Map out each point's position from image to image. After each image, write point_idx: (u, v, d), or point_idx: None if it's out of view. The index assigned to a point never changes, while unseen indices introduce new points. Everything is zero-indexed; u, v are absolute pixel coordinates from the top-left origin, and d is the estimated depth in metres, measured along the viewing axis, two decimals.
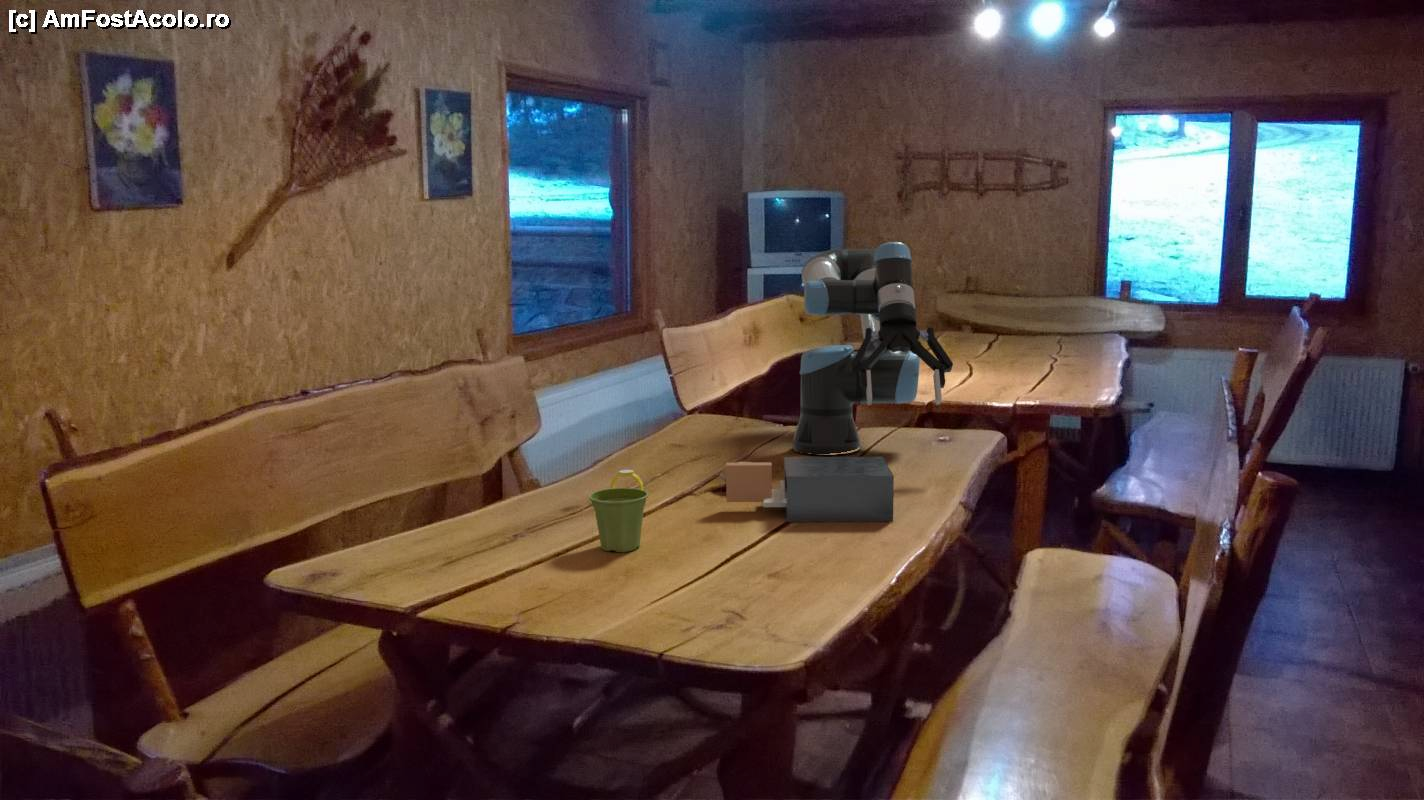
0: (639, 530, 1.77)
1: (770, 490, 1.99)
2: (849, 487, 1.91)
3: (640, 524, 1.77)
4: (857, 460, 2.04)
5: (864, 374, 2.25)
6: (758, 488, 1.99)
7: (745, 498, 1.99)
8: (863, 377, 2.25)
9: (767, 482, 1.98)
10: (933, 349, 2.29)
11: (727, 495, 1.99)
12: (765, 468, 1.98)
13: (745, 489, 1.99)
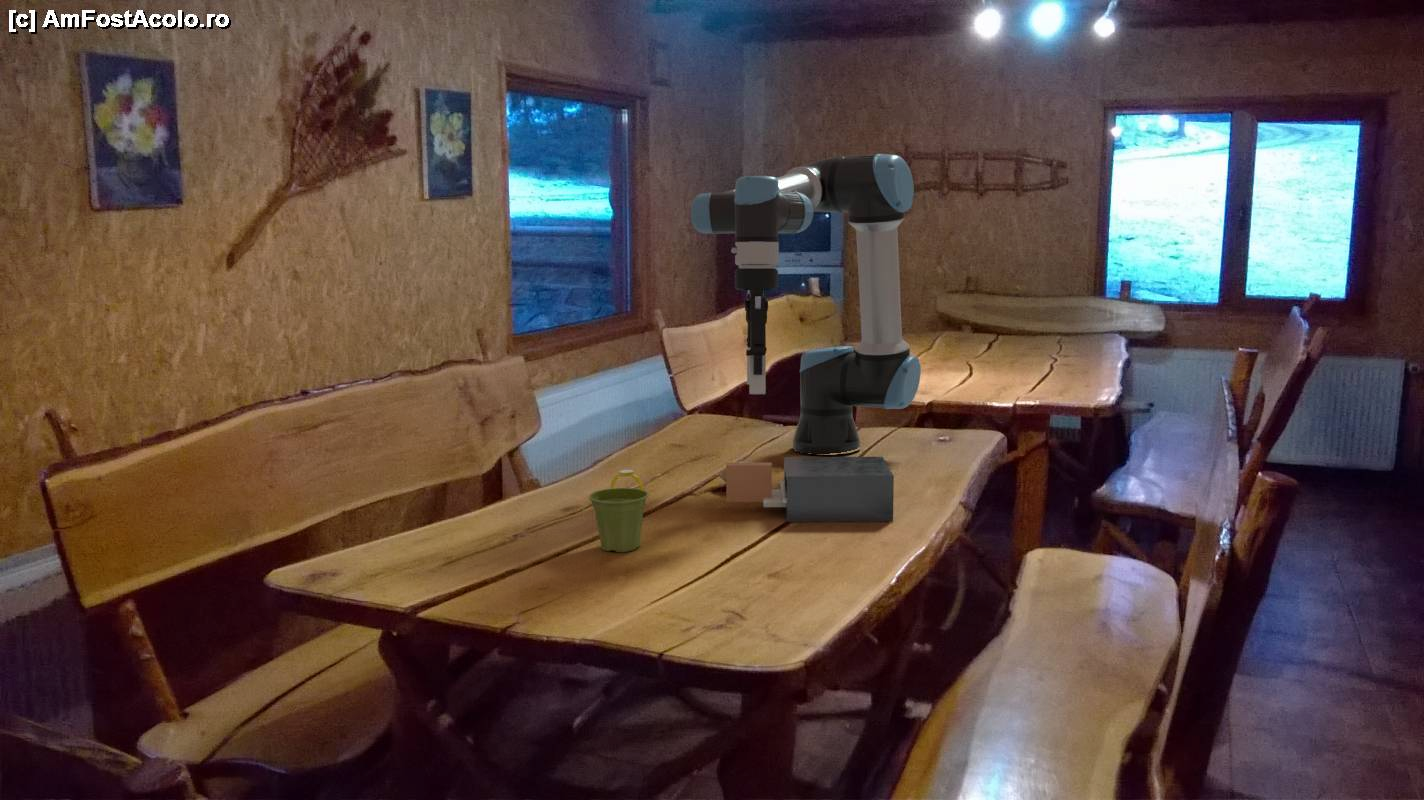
0: (639, 530, 1.77)
1: (770, 490, 1.99)
2: (849, 487, 1.91)
3: (640, 524, 1.77)
4: (857, 460, 2.04)
5: None
6: (758, 488, 1.99)
7: (745, 498, 1.99)
8: None
9: (767, 482, 1.98)
10: None
11: (727, 495, 1.99)
12: (765, 468, 1.98)
13: (745, 489, 1.99)
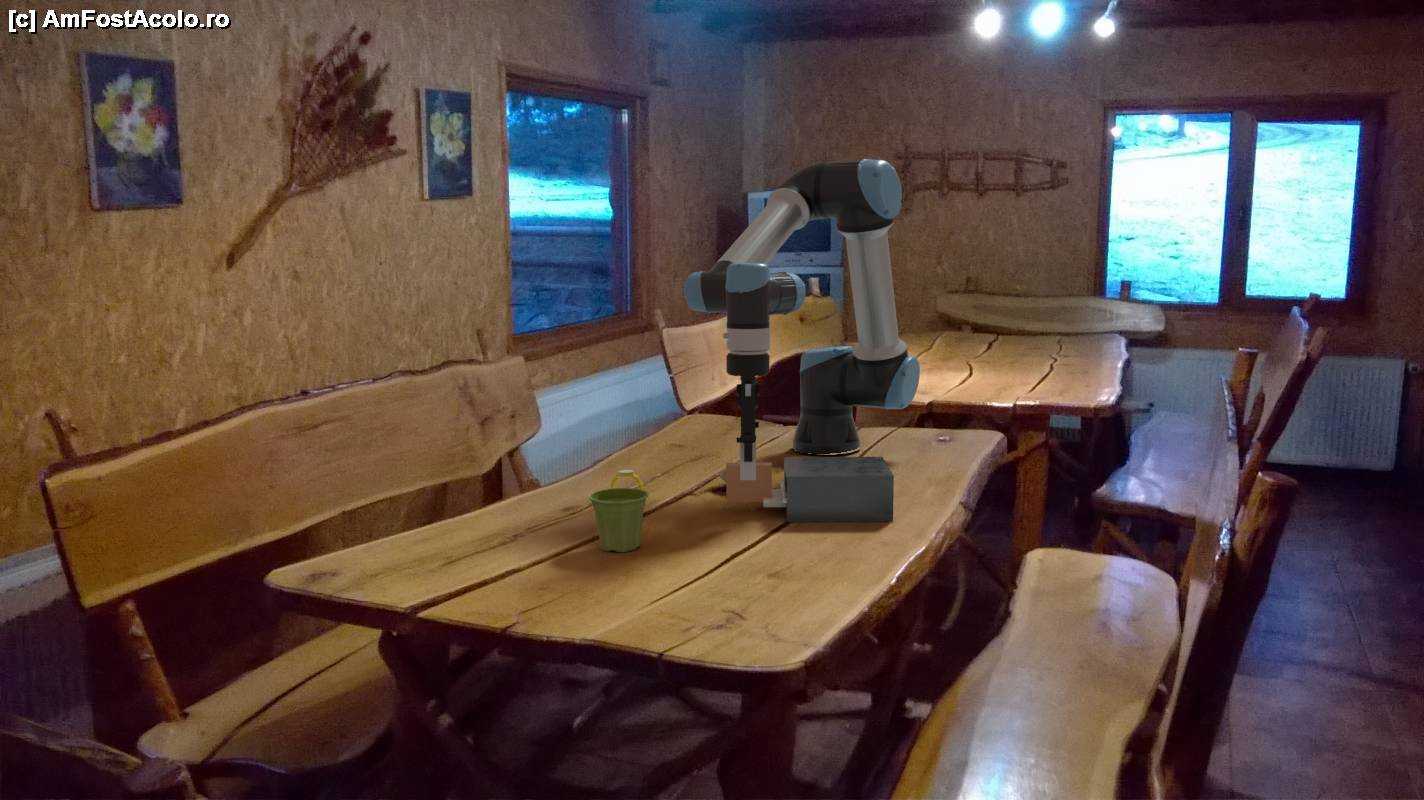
0: (639, 530, 1.77)
1: (770, 490, 1.99)
2: (849, 487, 1.91)
3: (640, 524, 1.77)
4: (857, 460, 2.04)
5: None
6: (758, 488, 1.99)
7: (745, 498, 1.99)
8: None
9: (767, 482, 1.98)
10: None
11: (727, 495, 1.99)
12: (765, 468, 1.98)
13: (745, 489, 1.99)
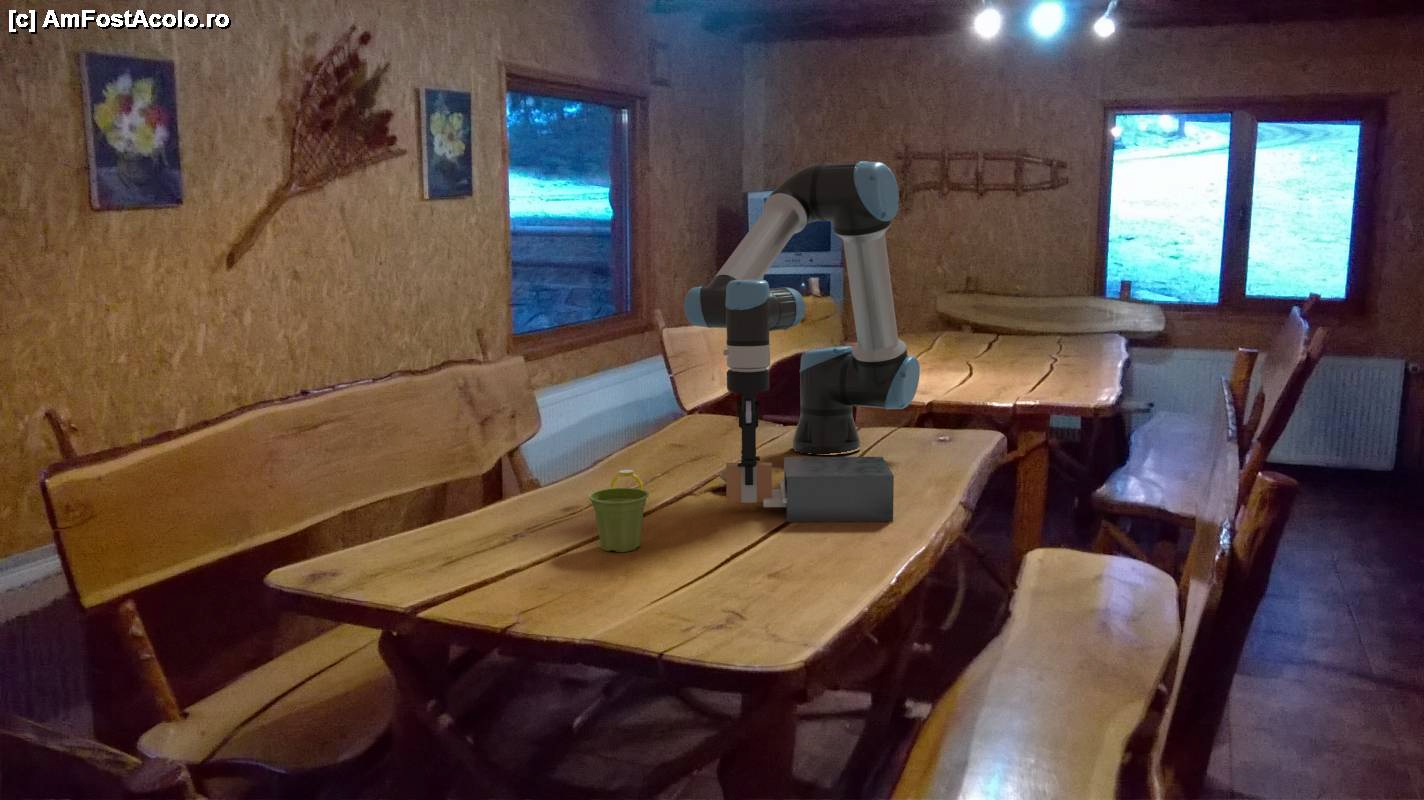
0: (639, 530, 1.77)
1: (770, 490, 1.99)
2: (849, 487, 1.91)
3: (640, 524, 1.77)
4: (857, 460, 2.04)
5: None
6: (758, 488, 1.99)
7: None
8: None
9: (767, 482, 1.98)
10: None
11: (727, 495, 1.99)
12: (765, 468, 1.98)
13: None
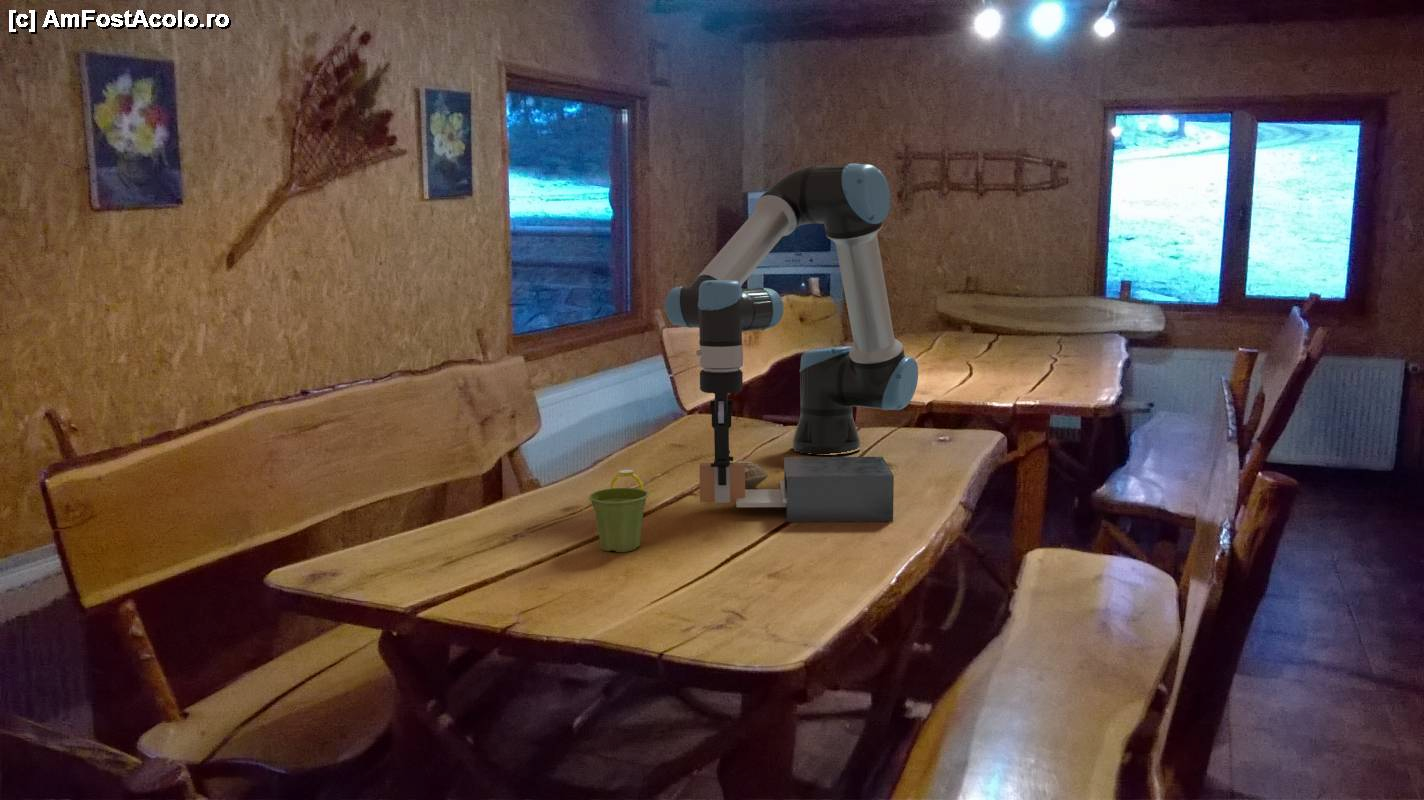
0: (639, 530, 1.77)
1: (743, 490, 1.99)
2: (849, 487, 1.91)
3: (640, 524, 1.77)
4: (857, 460, 2.04)
5: None
6: (731, 488, 1.99)
7: None
8: None
9: (740, 482, 1.99)
10: None
11: (700, 495, 1.99)
12: (738, 468, 1.98)
13: None
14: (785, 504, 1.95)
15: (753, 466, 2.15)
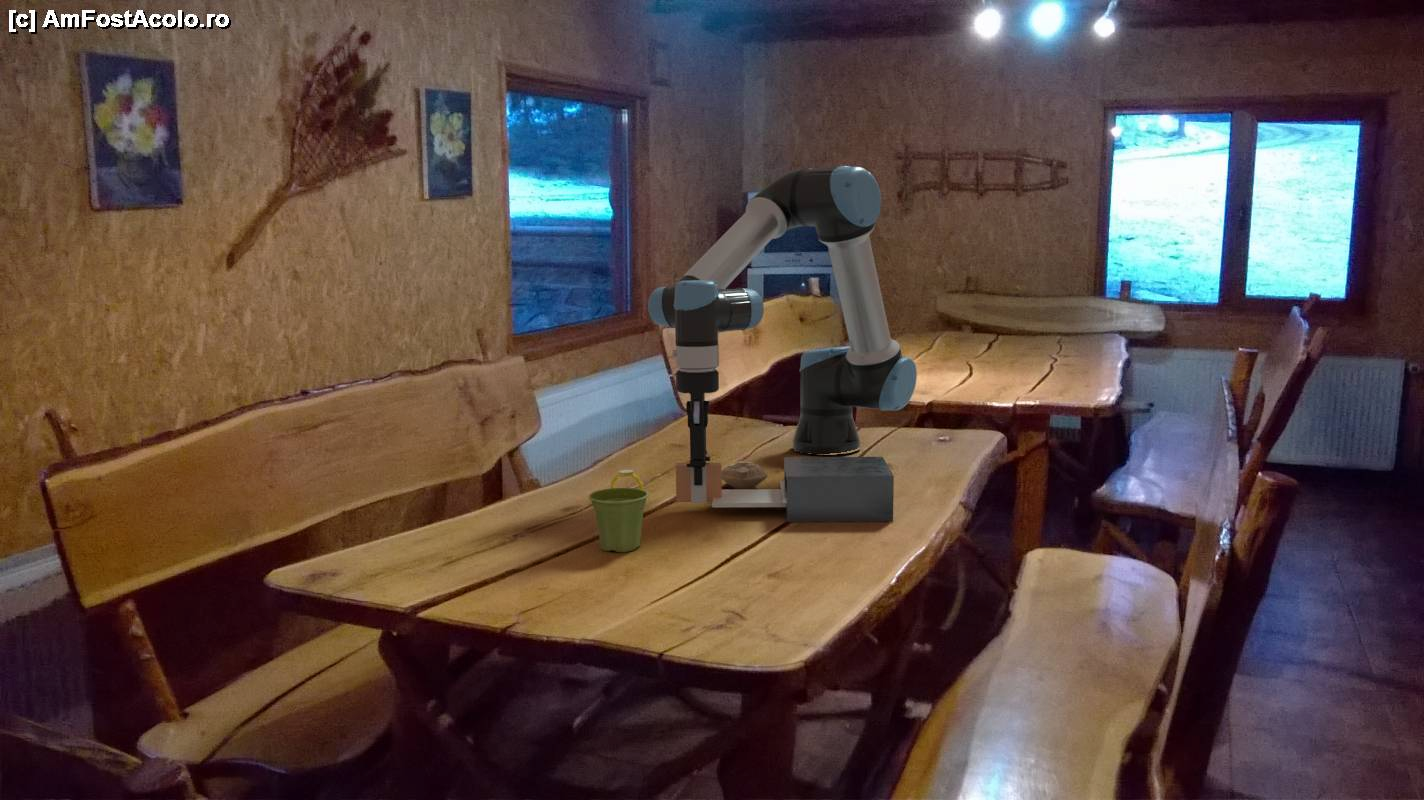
0: (639, 530, 1.77)
1: (720, 490, 1.99)
2: (849, 487, 1.91)
3: (640, 524, 1.77)
4: (857, 460, 2.04)
5: None
6: (707, 489, 1.99)
7: None
8: None
9: (717, 482, 1.99)
10: None
11: (677, 495, 1.99)
12: (715, 468, 1.98)
13: None
14: (761, 504, 1.95)
15: (753, 466, 2.15)
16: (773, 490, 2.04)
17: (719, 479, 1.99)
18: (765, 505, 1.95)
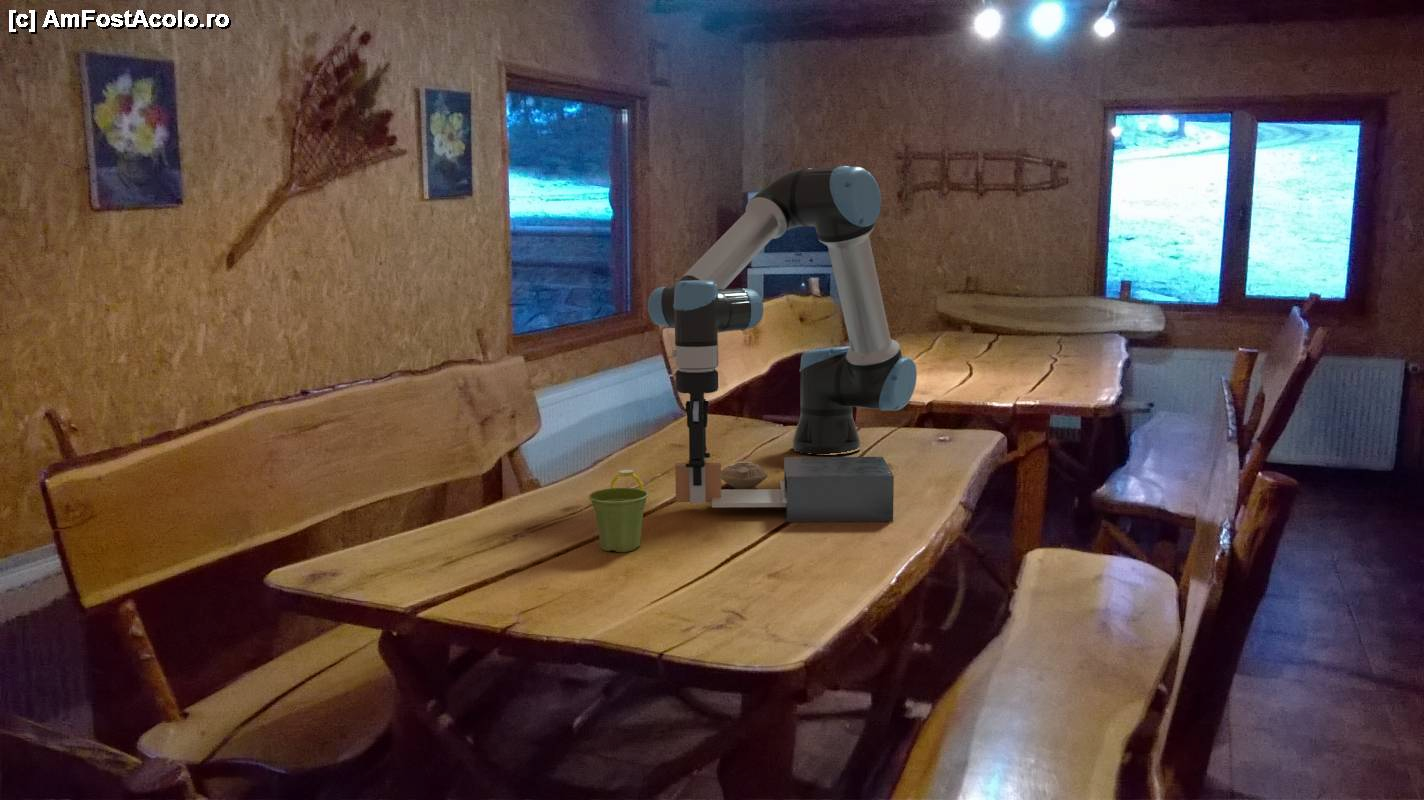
0: (639, 530, 1.77)
1: (719, 490, 1.99)
2: (849, 487, 1.91)
3: (640, 524, 1.77)
4: (857, 460, 2.04)
5: None
6: (707, 489, 1.99)
7: None
8: None
9: (716, 482, 1.99)
10: None
11: (676, 495, 1.99)
12: (714, 468, 1.98)
13: None
14: (760, 504, 1.95)
15: (753, 466, 2.15)
16: (773, 490, 2.04)
17: (719, 479, 1.99)
18: (765, 505, 1.95)
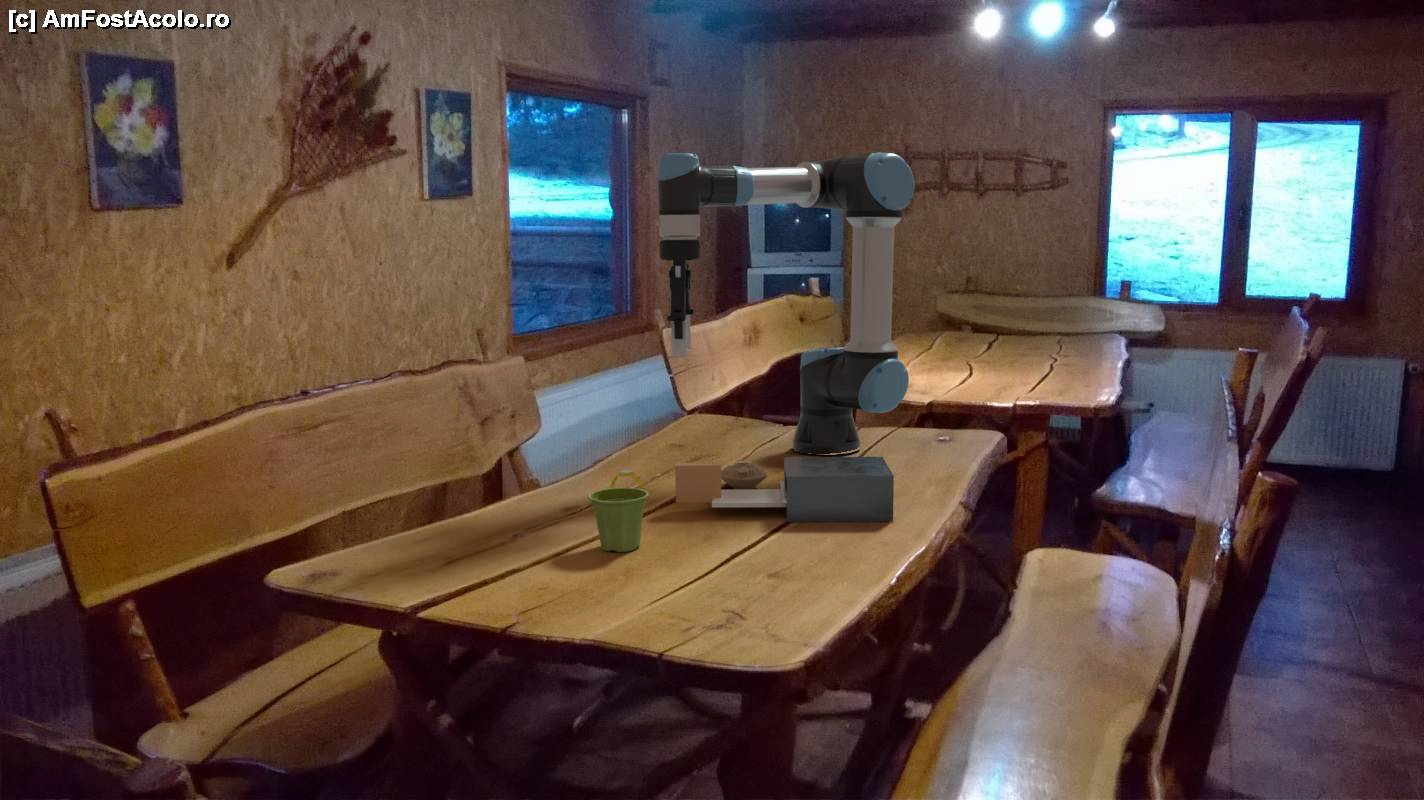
0: (639, 530, 1.77)
1: (719, 490, 1.99)
2: (849, 487, 1.91)
3: (640, 524, 1.77)
4: (857, 460, 2.04)
5: None
6: (707, 489, 1.99)
7: (694, 498, 1.99)
8: None
9: (716, 482, 1.99)
10: None
11: (676, 495, 1.99)
12: (714, 468, 1.98)
13: (695, 489, 1.99)
14: (760, 504, 1.95)
15: (753, 466, 2.15)
16: (773, 490, 2.04)
17: (719, 479, 1.99)
18: (765, 505, 1.95)
